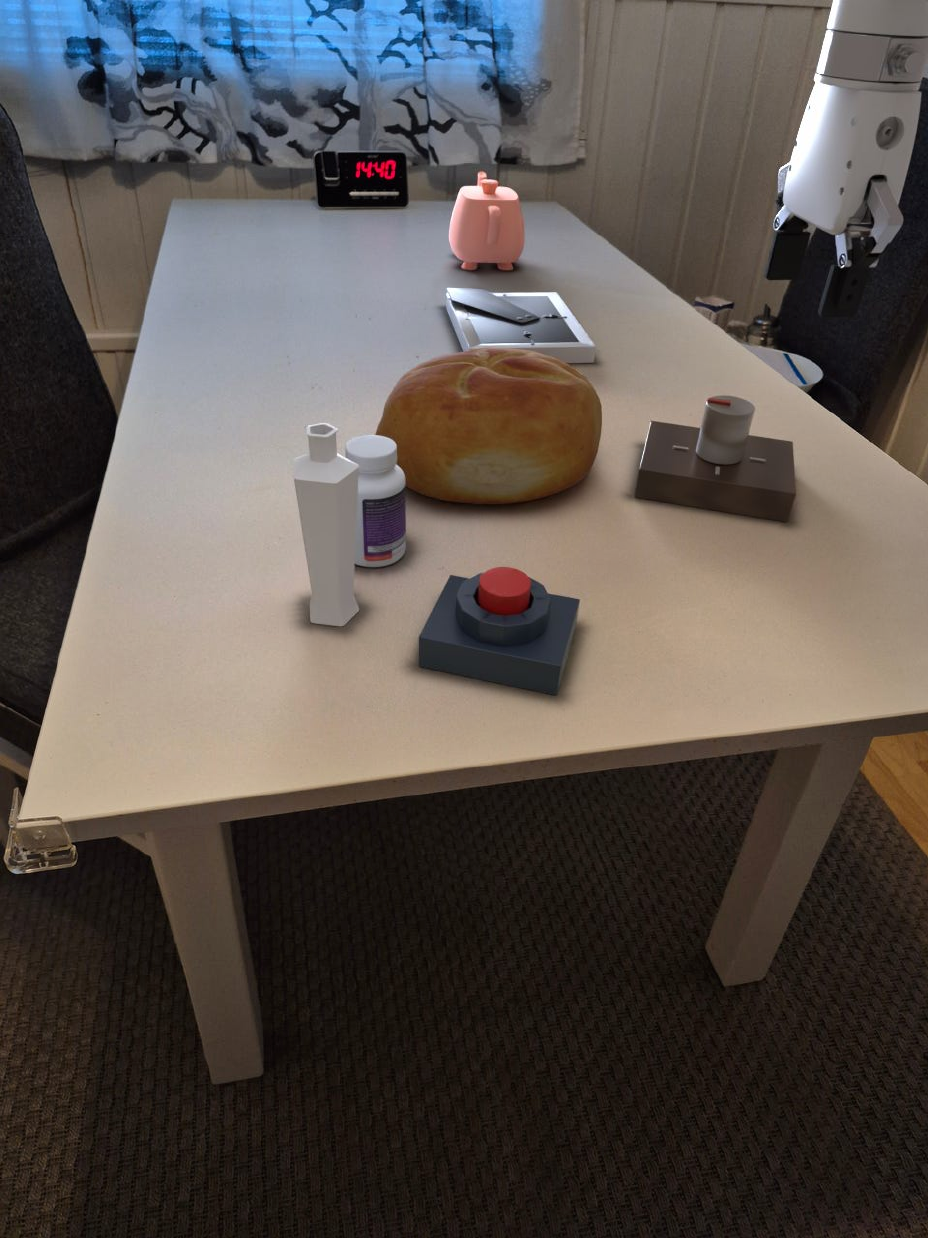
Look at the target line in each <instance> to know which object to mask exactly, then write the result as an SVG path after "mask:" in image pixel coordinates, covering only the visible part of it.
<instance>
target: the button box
mask: <svg viewBox="0 0 928 1238" xmlns="http://www.w3.org/2000/svg"><path fill="white" fill-rule="evenodd" d="M483 573H484V572H479V573H476V574H475V575H473V576H472V577H464V576H458V575H453V574H450V575H449V577H448V578H447V581H446V583H445V585H444V586H443V589H442V590H441V592H440V594H439V596H438V598H437V601H436V602H435V604H434V606H433V608H432V610H431V612H430V614H429V616H428V618H427V620H426V622H425V625H423V628H422V630H421V632H420V634H419V635H418V667H419V668H424V669H429V670H432V671H433V670H434V671H439V672H443V673H448V674H454V675H457V676H462V677H467V678H468V677H469V678H472V679H477V680H481V681H486V682H491V683H496V684H501V685H506V686H511V687H515V688H520V689H525V690H529V691H534V692H539V693H544V694H549V695H553V696H557V695H558V693H559V689H560V685H561V683H562V678H563V675H564V672H565V668H566V664H567V662H568V661H567V660H568V657H569V654H570V650H571V647H572V642H573V640H574V636H575V633H576V629H577V621H578V615H579V610H580V609H579V608H580V601H581V599H580V598H576V597H570V596H565V595H559V594H554V593H549V592H548V591H547V588H546V587H545V585H544V584H542V583H540V582H539V581H537V580H535V579H534V578H532V577H530V576H528V577H529V579H530V581H531V589H530V599H529V605H528V607H527V609H526V610H525V611H523V612H522V613H520V614H514V615H506V616H503V615H497V614H492V613H489V612H487V611H486V610H484V609H483V608H482V607H481V606H480V604H479V602H478V592H479V579H480V576H481V575H482V574H483Z"/></svg>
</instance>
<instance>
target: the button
mask: <svg viewBox="0 0 928 1238" xmlns="http://www.w3.org/2000/svg"><path fill="white" fill-rule="evenodd" d="M482 573H483V574H482V575H481V576H480V579H479V592H478V602H479V604H480V606H481V607H482V608H483V609H484V610H486V611H487V612H489V613H492V614H497V615H503V616H506V615H514V614H520V613H522V612H523V611H525V610H526V609H527V607H528V605H529V599H530V589H531V581H530V579H529V577H530V576H528V574H527V573H525V572H523V571H522V570H520V569H518V568H514V567H509V566H497V567H496V566H495V567H491V568H489V569H486V570H485V571H484V572H482Z"/></svg>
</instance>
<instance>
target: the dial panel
mask: <svg viewBox="0 0 928 1238" xmlns="http://www.w3.org/2000/svg"><path fill="white" fill-rule="evenodd" d="M700 428H701V427H697V426H691V425H683V424H678V423H671V422H670V423H669V422H663V421H658V420H657V421H655V420H650V422H649V426H648V431H647V435H646V439H645V444H644V447H643V452H642V456H641V460H640V464H639V467H638V473H637V478H636V485H635V491H634V495H633V497H634V498H638V499H644V500H649V501H650V500H651V501H656V502H662V503H668V504H674V505H681V506H686V507H693V508H700V509H705V510H711V511H716V512H721V513H729V514H735V515H741V516H747V517H753V518H759V519H765V520H771V521H777V522H782V523H788V521H789V518H790V515H791V512H792V508H793V506H794V502H795V499H796V496H797V489H796V471H795V455H794V442H793V441H792V440H784V439H777V438H772V437H764V436H757V435H752V434H749V435H748V439H747V442H746V446H745V450H744V454H743V458H742V460H741V461H740V462H738V463H735V464H729V465H723V464H716V463H711V462H708V461H706V460H704V459H702V458H701V457H699V456H698V455H697V453H696V446H697V442H698V437H699V433H700Z"/></svg>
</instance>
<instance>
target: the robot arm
mask: <svg viewBox="0 0 928 1238" xmlns="http://www.w3.org/2000/svg"><path fill="white" fill-rule="evenodd" d="M927 64H928V0H832V3H831V8H830V13H829V17H828V21H827V24H826V30H825V32H824V37H823V41H822V45H821V49H820V53H819V58H818V62H817V65H816V70H815V72H814V77H813V81H814V82H815V83H814V86H813V88H812V91H811V94H810V96H809V99H808V101H807V105H806V108H805V111H804V114H803V117H802V120H801V122H800V127H799V130H798V133H797V137H796V141H795V143H794V147H793V150H792V153H791V157H790V161H789V162H788V163H787V164H785V165H784V166H782V167H780V169H779V170H778V174H777V175H778V176H777V196H776V197H775V200H774V203H775V208H776V216H775V217H774V220H773V225H772V226H773V230H774V233H773V236H772V242H771V245H770V249H769V252H768V257H767V262H766V266H765V270H764V275H763V276H764V278H765V279H766V280H768V281H795V280H798V279H799V278H800V276H801V272H802V268H803V264H804V260H805V256H806V253H807V249H808V245H809V241H810V238H811V234H812V233H811V231H806V230H807V229H808V228H809V227H810V225H812V226H813V227H815V228H817V229H819V230H821V231H823V232H825V233H828V234H830V235H831V236H834V240H835V248H836V257H837V264H830V267H829V270H828V271H829V272H828V275H827V279H826V282H825V286H824V289H823V293H822V296H821V300H820V303H819V307H818V309H817V310H818V311H817V314H818V315H819V316H820V317H822V318H853V317H855V316H856V314H857V313H858V312H859V307H860V304H861V301H862V298H863V295H864V292H865V287H866V285H867V282H868V279H869V275H870V272H871V269H874V268H876V267H877V265H878V263H879V259H880V258H882V257H883V255H885V254H886V253H887V252H888V251H889V248H890V244H891V242H892V241H893V240H894V238H895V236H896V235H897V234H898V232H899V231H900V229H902V226H903V224H904V216H903V214H902V212H901V209H900V208H899V203H900V200H901V196H902V193H903V189H904V186H905V183H906V178H907V174H908V170H909V166H910V162H911V158H912V154H913V149H914V145H915V141H916V135H917V130H918V124H919V119H920V112H921V104H922V91H920V88H921V84H922V80H923V77H924V74H925V70H926V67H927ZM852 239H860V241H859V242H858V243H856V244H855V245H854V246H853V244H852Z"/></svg>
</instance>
